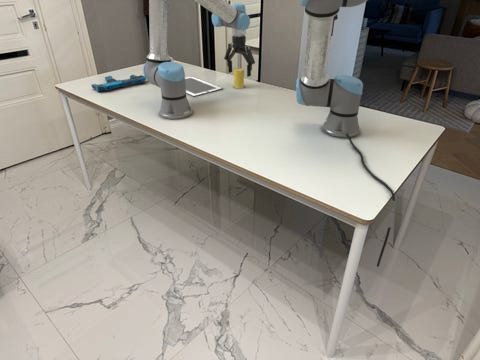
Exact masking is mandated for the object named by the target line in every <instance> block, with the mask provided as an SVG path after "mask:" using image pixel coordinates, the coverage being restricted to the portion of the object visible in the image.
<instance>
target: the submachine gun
mask: <svg viewBox="0 0 480 360" xmlns="http://www.w3.org/2000/svg"><path fill="white" fill-rule="evenodd" d="M104 80H105V81H106V82H105V83H100V84H97V83H91V84H90V85H91V88H92V89H93V90H95V91H96V92H103V91H109V92H111V91H112V89H117V88H122V87H126V86H130V85H136V84H141V83H145V82H146V81H147V79H146V78H145V76H144V75H135V74H130V75H129V78H126V79H118V80H117V79H115V78H113V76H112V75H108V76H105V77H104Z"/></svg>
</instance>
